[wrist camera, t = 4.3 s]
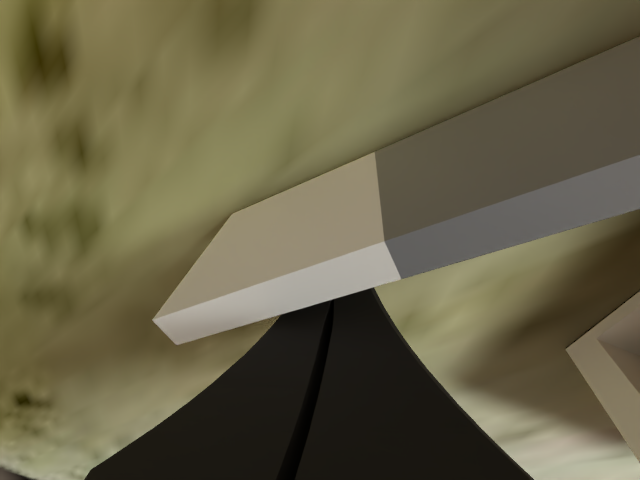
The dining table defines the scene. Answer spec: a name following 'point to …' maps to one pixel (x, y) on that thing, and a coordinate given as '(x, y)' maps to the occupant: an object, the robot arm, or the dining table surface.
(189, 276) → the side door
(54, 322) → the dining table surface
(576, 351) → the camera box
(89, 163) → the dining table surface
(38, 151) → the dining table surface
